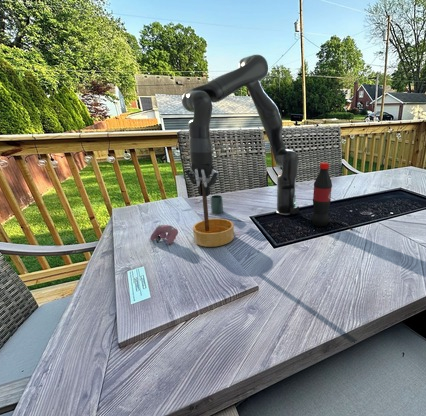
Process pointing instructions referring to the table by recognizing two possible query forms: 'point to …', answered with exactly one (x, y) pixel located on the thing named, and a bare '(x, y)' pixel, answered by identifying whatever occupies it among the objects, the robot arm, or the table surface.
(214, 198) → the holder
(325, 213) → the cola bottle
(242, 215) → the table surface
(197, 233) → the bowl
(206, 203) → the stick
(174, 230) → the video game controller
